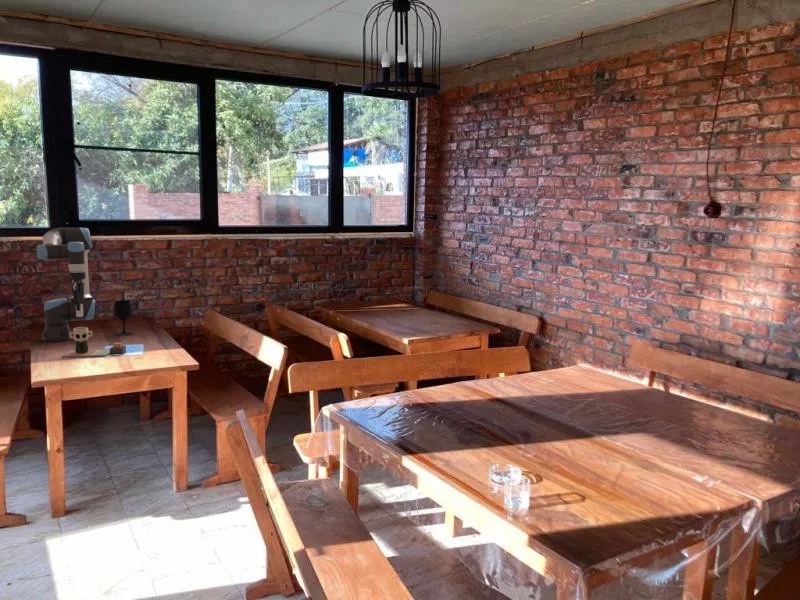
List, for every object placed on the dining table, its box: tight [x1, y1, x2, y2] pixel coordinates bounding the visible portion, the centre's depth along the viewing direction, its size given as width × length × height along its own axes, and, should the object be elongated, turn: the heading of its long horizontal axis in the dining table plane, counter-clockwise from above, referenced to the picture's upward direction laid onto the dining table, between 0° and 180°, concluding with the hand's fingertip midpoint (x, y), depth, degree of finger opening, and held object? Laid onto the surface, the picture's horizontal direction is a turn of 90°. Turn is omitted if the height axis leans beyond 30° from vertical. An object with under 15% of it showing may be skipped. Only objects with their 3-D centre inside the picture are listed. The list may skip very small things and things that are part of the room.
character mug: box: [69, 326, 93, 353], centre depth 338 cm, size 11×7×13 cm, turn 116°
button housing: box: [109, 345, 127, 355], centre depth 341 cm, size 6×6×4 cm
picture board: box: [61, 348, 110, 359], centre depth 339 cm, size 15×22×1 cm
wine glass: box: [113, 300, 134, 336], centre depth 389 cm, size 10×10×20 cm
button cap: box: [112, 342, 123, 348], centre depth 341 cm, size 3×3×3 cm
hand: (79, 316), depth 336 cm, fingers closed
